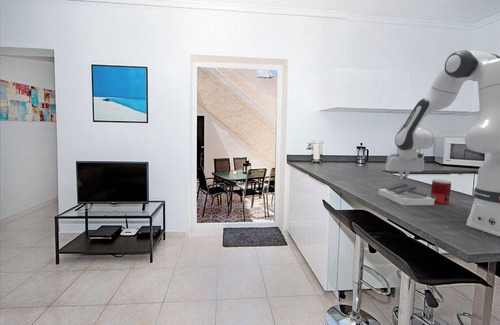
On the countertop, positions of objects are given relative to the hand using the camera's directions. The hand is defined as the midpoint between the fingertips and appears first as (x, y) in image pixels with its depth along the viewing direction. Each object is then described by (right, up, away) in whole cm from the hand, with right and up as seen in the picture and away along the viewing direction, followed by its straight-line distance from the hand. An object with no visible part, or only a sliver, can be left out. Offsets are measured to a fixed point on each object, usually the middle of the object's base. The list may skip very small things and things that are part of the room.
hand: (403, 179), depth 156 cm
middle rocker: (-3, -6, -7) cm, 9 cm away
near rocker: (-2, -6, -14) cm, 15 cm away
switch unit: (-3, -10, -6) cm, 12 cm away
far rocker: (-4, -5, 0) cm, 6 cm away
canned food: (+13, -11, -10) cm, 20 cm away
